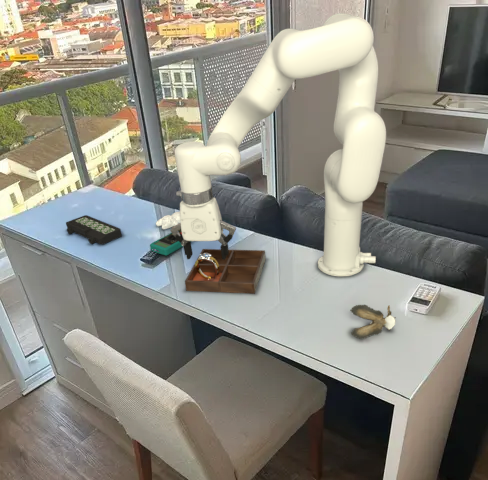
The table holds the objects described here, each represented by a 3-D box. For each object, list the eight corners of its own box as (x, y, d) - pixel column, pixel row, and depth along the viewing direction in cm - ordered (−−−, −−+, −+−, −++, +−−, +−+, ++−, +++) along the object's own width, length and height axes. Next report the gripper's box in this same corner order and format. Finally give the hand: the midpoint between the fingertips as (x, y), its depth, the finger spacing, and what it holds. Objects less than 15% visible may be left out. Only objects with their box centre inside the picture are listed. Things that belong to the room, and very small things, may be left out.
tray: (265, 259, 143) (265, 250, 141) (254, 293, 128) (254, 284, 126) (203, 257, 146) (202, 248, 145) (186, 290, 132) (184, 281, 130)
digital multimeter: (199, 238, 157) (197, 230, 156) (166, 257, 148) (164, 248, 147) (182, 233, 161) (181, 225, 160) (149, 251, 152) (148, 243, 150)
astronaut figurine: (152, 224, 169) (150, 215, 168) (182, 214, 175) (180, 205, 173) (164, 231, 164) (163, 223, 162) (194, 221, 169) (193, 212, 167)
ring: (195, 279, 135) (191, 253, 130) (202, 274, 137) (198, 248, 132) (215, 285, 131) (212, 259, 127) (222, 280, 133) (219, 254, 129)
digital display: (60, 222, 168) (85, 213, 173) (63, 231, 169) (87, 222, 175) (95, 238, 155) (121, 227, 161) (97, 247, 157) (123, 236, 163)
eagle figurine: (381, 312, 115) (346, 311, 113) (395, 299, 109) (358, 298, 107) (387, 342, 112) (350, 342, 111) (402, 331, 106) (363, 331, 104)
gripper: (159, 202, 119) (172, 263, 129) (228, 200, 115) (236, 264, 125) (168, 190, 125) (180, 250, 135) (234, 188, 121) (241, 250, 131)
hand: (207, 257), depth 130 cm, fingers open, 9 cm apart
